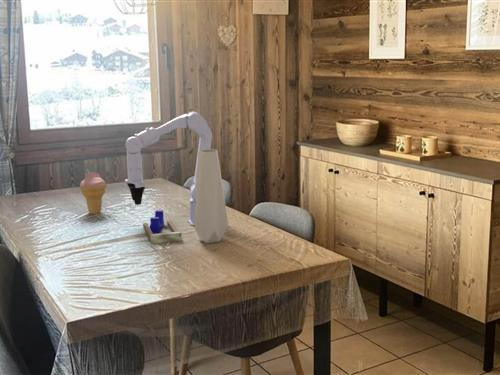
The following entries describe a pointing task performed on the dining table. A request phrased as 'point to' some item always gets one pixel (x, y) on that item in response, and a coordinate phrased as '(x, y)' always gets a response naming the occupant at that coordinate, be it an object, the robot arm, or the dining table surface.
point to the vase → (210, 198)
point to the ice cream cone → (93, 191)
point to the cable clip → (157, 221)
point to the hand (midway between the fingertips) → (136, 202)
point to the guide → (163, 234)
